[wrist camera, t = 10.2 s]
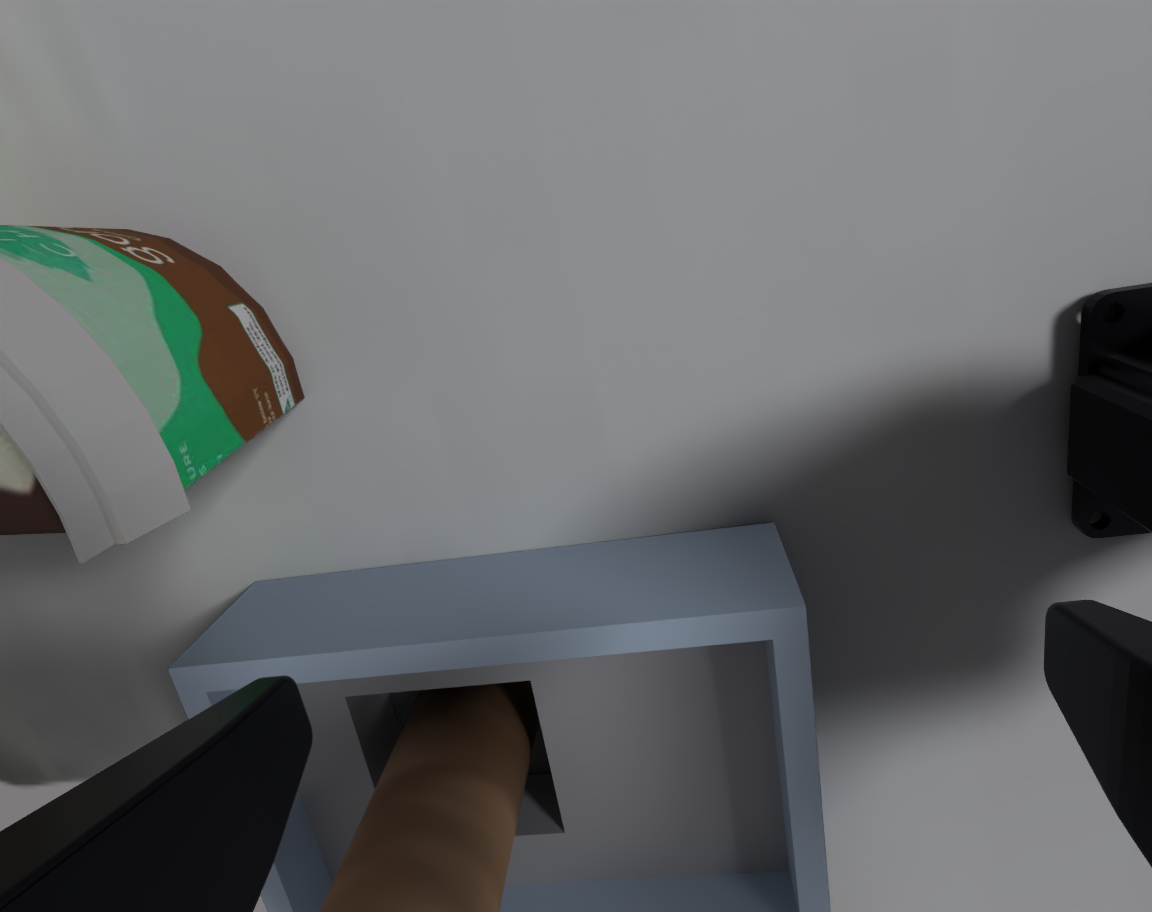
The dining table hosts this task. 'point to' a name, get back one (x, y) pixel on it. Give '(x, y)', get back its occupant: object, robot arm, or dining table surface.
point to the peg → (443, 806)
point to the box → (563, 713)
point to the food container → (123, 380)
